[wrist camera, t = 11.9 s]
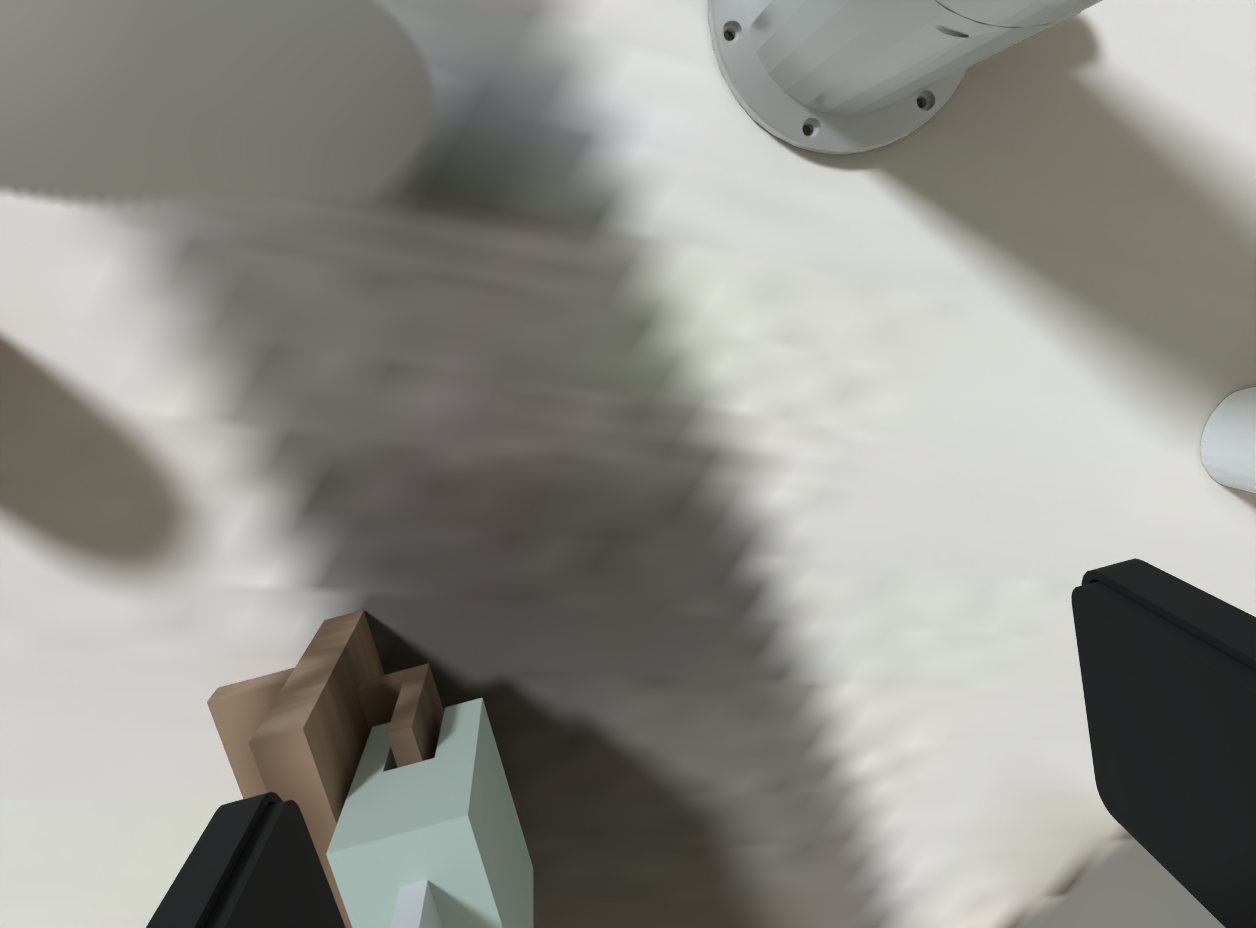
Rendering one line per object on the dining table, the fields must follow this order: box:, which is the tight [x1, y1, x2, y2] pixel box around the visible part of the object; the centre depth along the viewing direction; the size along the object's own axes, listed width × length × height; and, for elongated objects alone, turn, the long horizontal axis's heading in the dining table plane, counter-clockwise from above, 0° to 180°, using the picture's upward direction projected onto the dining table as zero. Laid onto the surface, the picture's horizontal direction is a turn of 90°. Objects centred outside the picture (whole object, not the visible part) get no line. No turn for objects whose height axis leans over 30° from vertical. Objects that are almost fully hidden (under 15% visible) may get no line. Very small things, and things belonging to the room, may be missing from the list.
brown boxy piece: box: [207, 610, 444, 928], centre depth 40 cm, size 11×16×12 cm
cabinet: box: [326, 698, 533, 928], centre depth 34 cm, size 5×9×14 cm, turn 14°
